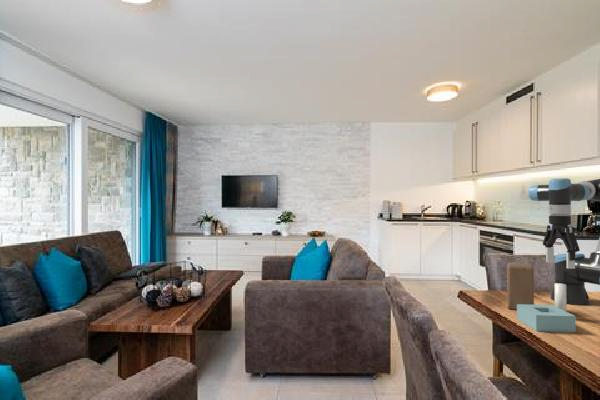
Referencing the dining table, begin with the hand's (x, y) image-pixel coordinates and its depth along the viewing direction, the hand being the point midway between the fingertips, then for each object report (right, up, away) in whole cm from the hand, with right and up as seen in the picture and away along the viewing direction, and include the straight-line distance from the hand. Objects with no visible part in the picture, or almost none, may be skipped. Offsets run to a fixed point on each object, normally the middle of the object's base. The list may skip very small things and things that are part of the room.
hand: (559, 265), depth 148 cm
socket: (-13, -22, -9) cm, 27 cm away
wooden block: (-9, -22, +13) cm, 27 cm away
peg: (0, -22, 0) cm, 22 cm away
